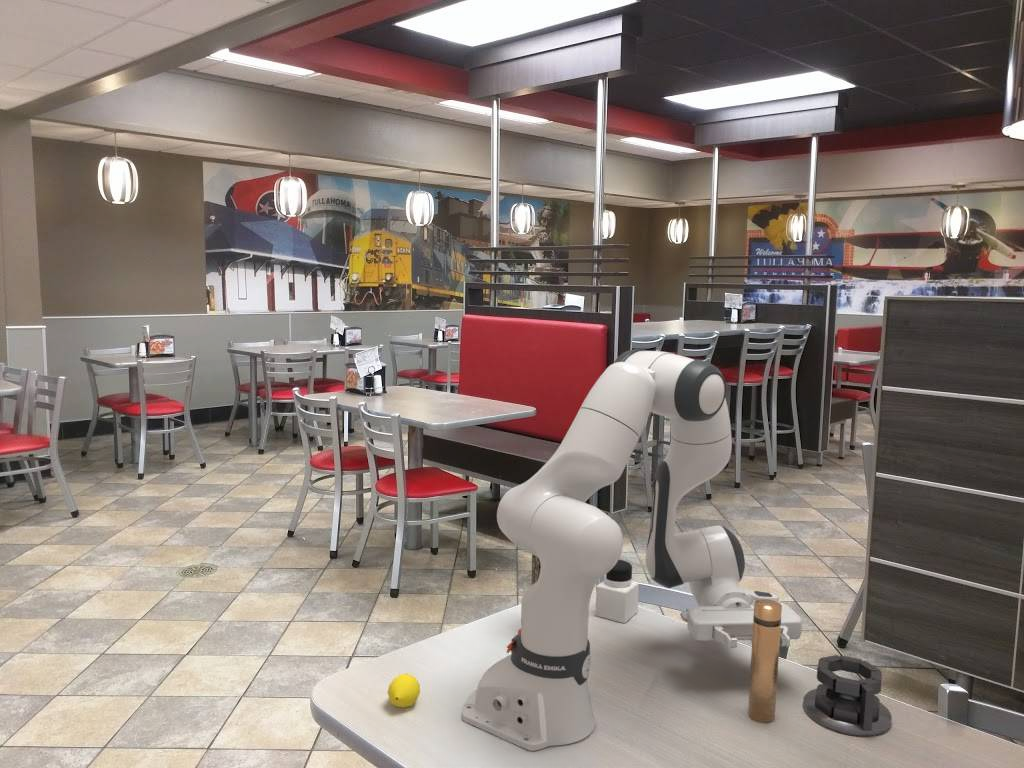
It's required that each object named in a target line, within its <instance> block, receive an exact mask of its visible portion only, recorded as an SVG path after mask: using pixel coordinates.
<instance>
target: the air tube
mask: <svg viewBox="0 0 1024 768" xmlns="http://www.w3.org/2000/svg"><path fill="white" fill-rule="evenodd" d="M779 602H780V601H779ZM779 602H776V601H774V600H769V599H759V600H756V601H755V602H754V615H753V635H752V640H751V653H750V654H751V655H750V657H751V658H750V672H749V673H750V674H749V688H748V689H749V692H748V709H747V714H748V717H749V718H750V719H751V720H753V721H755V722H758V723H760V724H761V723H763V724H768V723H770V724H771V723H773V722H774V721H775V720H776V709H777V708H776V707H777V691H778V690H777V689H778V677H779V676H778V675H779V659H780V629H781V612H782V605H781V604H780V603H779Z"/></svg>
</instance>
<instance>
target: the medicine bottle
mask: <svg viewBox="0 0 1024 768" xmlns="http://www.w3.org/2000/svg"><path fill="white" fill-rule="evenodd" d="M632 575H633V565H632V564H631V563H630V562H629V561H626V560H622V559H619V560H618V561H617V563H616V564H615V566H614V567H613V568H612V569H611V570H610V571H609V572H608V573H606V574H605V575H603V580H602V582H600V583H598V584H596V592H595V593H596V595H595V597H596V598H595V616H597V617H599V618H603V619H605V620H606V619H607V620H610V621H615V622H617V623H622V624H626V623H627V622H628V621H629V620H630V619H631V618H633V617H634V616H635V615H636V614H637V613H638V611H639V609H638V608H639V606H638V605H639V582H638V581H635V580H634V581H633V580H632V579H633V576H632Z"/></svg>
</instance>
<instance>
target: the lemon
mask: <svg viewBox="0 0 1024 768" xmlns="http://www.w3.org/2000/svg"><path fill="white" fill-rule="evenodd" d="M388 685H389V686H388V689H387V694H388V699H389V701H390V702H391V704H392V705H393V706H395V707H398V708H403V709H404V708H408V707H411V706H412V705H414V704H415V703H416V702H417V701H418V698H419V696H420V693H421V687H420V683H419V681H418V679H417V678H416V676H413V675H411V674H409V673H401V674H399V675H398V676H396V677H394V678H393V680H392V681H391V682H390V684H388Z"/></svg>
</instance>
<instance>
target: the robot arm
mask: <svg viewBox="0 0 1024 768" xmlns="http://www.w3.org/2000/svg"><path fill="white" fill-rule="evenodd" d="M726 394H727V384H726V381H725V378H724V376H723V373H722V372H721V370H720V368H718V367H717V366H716V365H714V364H712V363H710V362H708V361H705V360H702V359H693V358H690V357H688V356H683V355H679V354H675V353H674V352H669V351H668V352H667V351H659V350H647V349H644V348H638V349H637V348H636V349H630V350H626V351H624V352H622V353H621V354H620V355H618V357H617V358H616V359H615V361H614V362H613V363H612V364H609V366H607V368H606V369H605V370H604V371H603V373H602V374H601V375H600V376H599V377H598V378H597V380H596V381H595V383H594V384H593V386H592V387H591V389H590V390H589V392H588V394H587V395H586V397H585V398H584V400H583V402H582V404H581V406H580V408H579V410H578V412H577V414H576V415H575V417H574V420H573V421H572V423H571V425H570V427H569V429H568V430H567V431H566V434H565V435H564V437H563V439H562V441H561V443H560V445H559V446H558V447H557V449H556V450H555V452H554V453H553V455H552V456H551V457H550V458H549V459H548V461H546V463H545V464H543V466H541V468H539V470H538V471H537V472H536V473H534V475H532V476H531V477H530V478H529V479H528V480H526V481H524V482H523V483H521V484H518V485H516V486H514V487H512V488H510V489H509V490H507V492H506V493H505V494H504V495H503V496H502V497H501V499H500V501H499V503H498V507H497V510H496V522H497V525H498V528H499V529H500V531H501V533H503V535H505V537H507V539H508V540H510V541H511V542H512V544H513V545H515V546H516V547H518V548H519V549H521V550H523V551H526V553H529V554H531V555H532V554H533V555H535V556H537V557H538V558H539V560H540V564H541V569H540V574H539V578H538V581H537V582H536V583H534V584H533V585H530V586H529V587H528V588H527V589H525V590H524V592H523V594H522V597H521V616H520V617H521V618H520V619H521V620H520V622H521V623H520V624H521V625H520V629H519V630H518V631H517V635H515V636H513V638H511V640H510V641H511V642H510V643H508V645H506V654H508V655H506V657H503V658H501V659H500V660H498V661H496V662H495V663H494V664H493V665H491V666H490V667H489V668H488V669H487V670H486V671H485V672H484V674H483V675H482V676H481V678H480V679H479V682H478V684H477V689H476V690H474V691H473V693H472V694H471V695H469V697H468V698H467V699H466V700H465V702H464V703H463V706H462V711H461V718H462V719H461V720H463V721H464V722H465V723H468V724H470V725H472V726H474V727H477V728H479V729H480V730H483V731H484V732H485V731H486V732H488V733H489V734H493V735H494V736H495V737H499V738H501V739H503V740H506V741H507V742H509V743H512V744H514V745H516V746H518V747H520V748H523V749H525V750H528V751H532V752H533V751H539V750H542V749H545V748H548V747H552V746H564V745H570V744H573V743H576V742H577V743H578V742H579V741H582V740H583V739H585V738H587V737H588V736H589V735H591V734H592V733H593V731H594V730H595V726H596V718H595V715H594V712H593V707H592V702H591V701H592V700H591V696H590V687H589V677H590V671H591V662H592V661H591V657H592V656H591V644H590V643H591V642H590V640H589V637H588V636H589V635H588V634H589V615H590V603H591V598H592V594H593V591H594V588H595V586H596V585H597V584H596V583H597V582H598V580H599V579H600V578H601V577H604V575H605V574H606V573H608V572H609V571H610V570H611V569H612V568H613V567H614V566H615V564H616V563H617V561H618V560H620V557H621V554H622V552H623V546H624V538H623V532H622V530H621V527H620V525H619V524H618V523H617V521H615V520H614V519H613V518H611V516H610V515H607V513H605V512H604V511H603V510H601V509H600V508H598V507H596V506H595V505H591V504H589V503H587V501H588V500H589V499H590V498H591V497H592V495H594V494H595V493H596V492H598V491H599V490H600V489H603V488H604V487H607V486H610V485H612V484H614V483H615V482H617V481H618V480H619V479H620V477H622V474H623V472H624V471H625V468H626V466H627V465H628V462H629V460H630V458H631V457H632V455H633V452H634V450H635V448H636V445H637V443H638V442H639V440H640V437H641V436H642V433H643V431H644V429H645V427H646V424H647V422H648V419H649V417H650V414H651V413H653V414H655V415H658V416H663V417H667V418H669V426H670V427H669V428H670V429H669V430H670V445H669V448H668V450H667V451H668V452H667V453H666V456H665V458H664V459H663V461H661V462H660V463H659V464H658V465H657V466H656V470H655V475H654V481H653V488H652V489H653V490H652V498H651V500H652V501H651V512H650V514H651V515H650V524H649V525H650V526H649V534H648V535H649V536H648V540H647V545H646V551H645V552H646V553H645V565H646V569H647V572H648V574H649V577H650V579H651V580H652V581H654V582H655V583H657V584H658V585H660V586H663V587H664V588H667V589H673V588H675V587H678V586H683V585H684V584H687V583H688V586H689V589H690V592H691V595H692V596H693V599H694V600H695V602H696V604H697V605H698V606H691V607H689V608H687V609H685V611H681V612H680V614H679V615H680V618H681V619H682V621H684V622H685V623H686V625H687V630H688V633H689V635H690V636H691V638H692V639H693V640H695V641H697V642H711V641H712V642H713V641H714V642H718V643H720V644H723V645H725V646H726V648H727V649H732V648H733V649H735V648H737V643H738V641H752V635H753V615H754V602H755V601H756V600H759V599H769V600H774V601H776V602H779V603H780V604H781V605H782V612H781V629H780V645H779V648H790V647H791V640H799V639H800V638H801V636H802V632H803V621H802V618H801V616H800V615H799V614H798V613H796V611H794V609H792V608H791V607H790V606H789V605H787V604H786V603H783V602H781V601H779V596H778V595H777V594H776V593H771V592H766V591H759V590H755V589H750V588H748V587H744V586H741V585H740V584H739V582H741V580H742V579H743V576H744V573H745V569H746V568H745V567H746V562H745V561H746V560H745V556H744V555H745V554H744V550H743V547H742V544H741V543H740V540H739V539H738V537H737V536H736V535H735V534H734V533H733V532H732V531H731V530H730V529H729V528H728V527H726V526H723V525H721V524H718V525H711V526H706V527H701V528H698V529H694V530H688V531H683V532H679V533H675V527H676V525H675V524H676V515H677V514H676V512H677V506H678V504H679V503H680V500H681V499H682V498H683V497H684V496H686V495H687V494H688V493H689V492H691V491H692V490H694V489H695V488H697V487H698V486H700V485H701V484H703V483H705V482H707V481H710V480H711V479H713V478H715V477H716V476H717V475H718V474H720V472H721V471H723V470H724V469H725V468H726V466H727V464H728V463H729V461H730V459H731V455H732V449H733V448H732V443H733V442H732V440H733V439H732V428H731V427H732V426H731V419H730V413H729V412H730V411H729V408H728V403H727V399H726ZM509 653H511V654H509Z"/></svg>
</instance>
